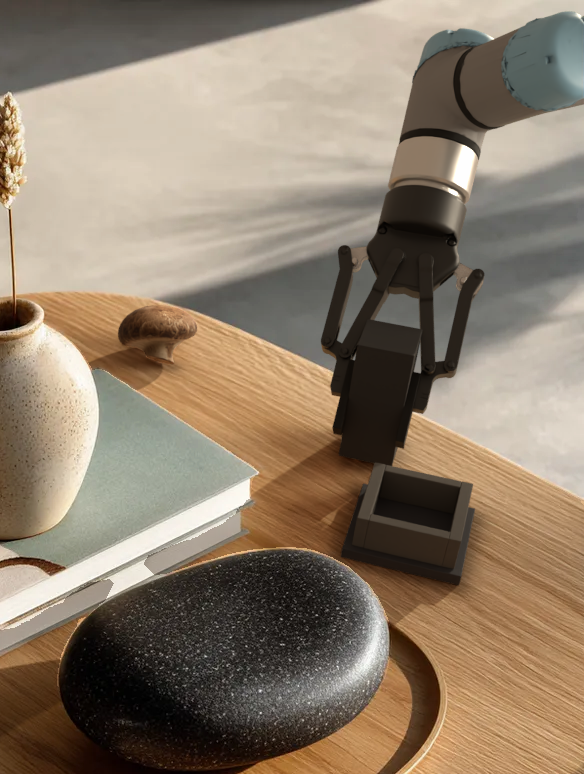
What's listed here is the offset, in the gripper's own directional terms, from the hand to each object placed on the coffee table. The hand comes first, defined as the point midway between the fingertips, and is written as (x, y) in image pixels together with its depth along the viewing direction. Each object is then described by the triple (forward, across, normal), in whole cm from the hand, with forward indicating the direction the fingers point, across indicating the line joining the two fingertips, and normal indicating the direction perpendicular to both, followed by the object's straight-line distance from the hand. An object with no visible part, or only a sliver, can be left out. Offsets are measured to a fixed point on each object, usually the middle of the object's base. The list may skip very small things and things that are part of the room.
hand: (368, 437), depth 121 cm
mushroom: (-6, +24, -12) cm, 28 cm away
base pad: (+8, -6, +3) cm, 10 cm away
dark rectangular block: (0, 0, -5) cm, 5 cm away
